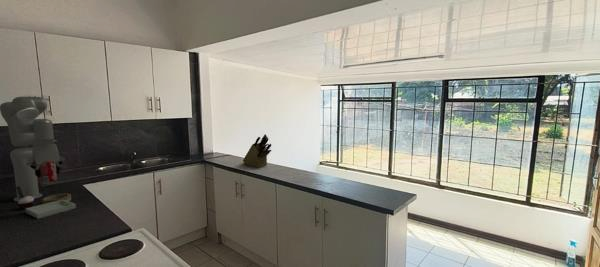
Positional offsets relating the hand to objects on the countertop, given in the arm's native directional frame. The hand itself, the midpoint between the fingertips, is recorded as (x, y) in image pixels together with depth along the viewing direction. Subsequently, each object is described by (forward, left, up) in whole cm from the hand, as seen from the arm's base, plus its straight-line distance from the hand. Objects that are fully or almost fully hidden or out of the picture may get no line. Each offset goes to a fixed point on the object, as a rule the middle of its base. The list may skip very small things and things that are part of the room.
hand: (47, 175), depth 144 cm
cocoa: (-18, -5, -20) cm, 28 cm away
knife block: (+28, +144, -20) cm, 148 cm away
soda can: (0, 0, -4) cm, 4 cm away
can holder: (-15, +8, -20) cm, 26 cm away
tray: (0, 0, -20) cm, 20 cm away
